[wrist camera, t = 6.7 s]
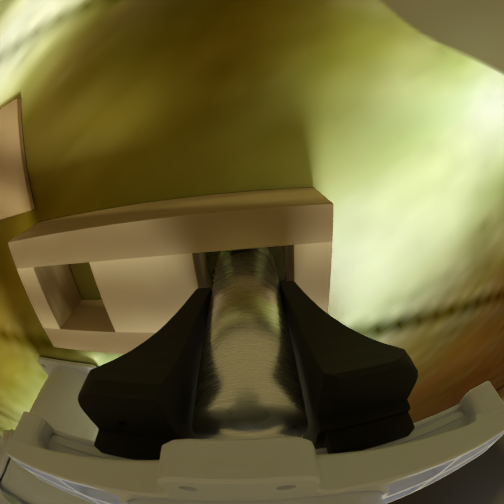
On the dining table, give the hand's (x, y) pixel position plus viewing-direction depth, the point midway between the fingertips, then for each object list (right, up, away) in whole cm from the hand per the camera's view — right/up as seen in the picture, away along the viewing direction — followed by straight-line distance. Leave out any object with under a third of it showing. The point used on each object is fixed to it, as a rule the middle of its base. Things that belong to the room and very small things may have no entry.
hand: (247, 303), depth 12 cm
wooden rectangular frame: (-5, +1, +4) cm, 7 cm away
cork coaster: (-19, +9, 0) cm, 21 cm away
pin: (0, +2, +2) cm, 3 cm away
